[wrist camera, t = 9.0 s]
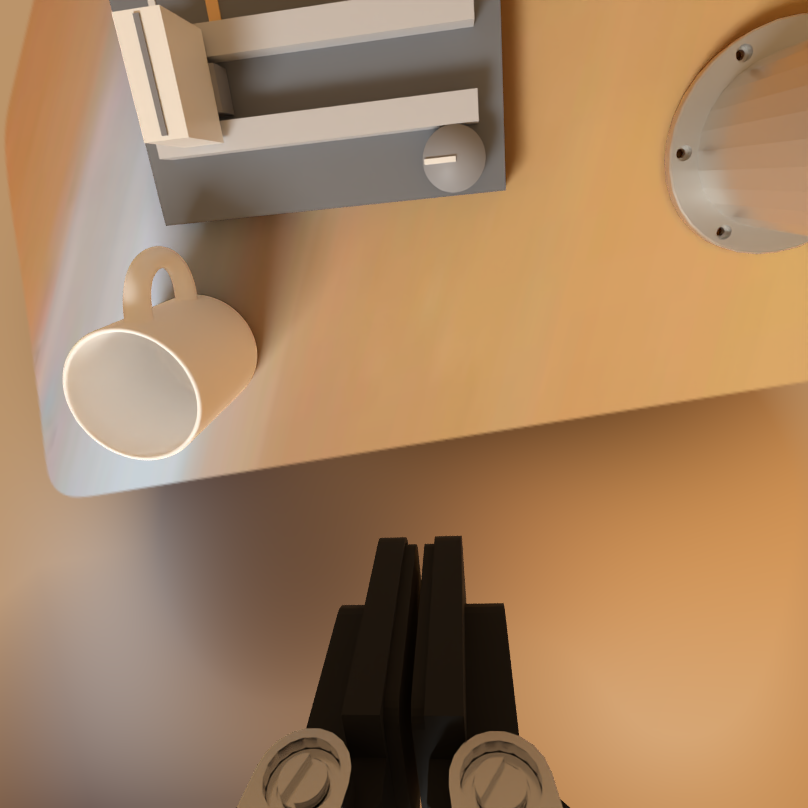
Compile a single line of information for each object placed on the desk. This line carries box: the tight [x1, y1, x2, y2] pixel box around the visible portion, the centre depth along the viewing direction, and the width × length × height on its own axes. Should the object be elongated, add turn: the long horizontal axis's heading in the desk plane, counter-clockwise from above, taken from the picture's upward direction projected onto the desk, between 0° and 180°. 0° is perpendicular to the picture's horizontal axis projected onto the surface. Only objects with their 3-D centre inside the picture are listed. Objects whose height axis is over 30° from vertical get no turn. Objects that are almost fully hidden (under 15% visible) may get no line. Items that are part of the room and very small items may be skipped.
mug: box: [63, 246, 257, 460], centre depth 35 cm, size 12×8×10 cm
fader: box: [112, 5, 235, 148], centre depth 29 cm, size 3×6×6 cm, turn 6°
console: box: [109, 0, 506, 226], centre depth 32 cm, size 22×14×4 cm, turn 96°
